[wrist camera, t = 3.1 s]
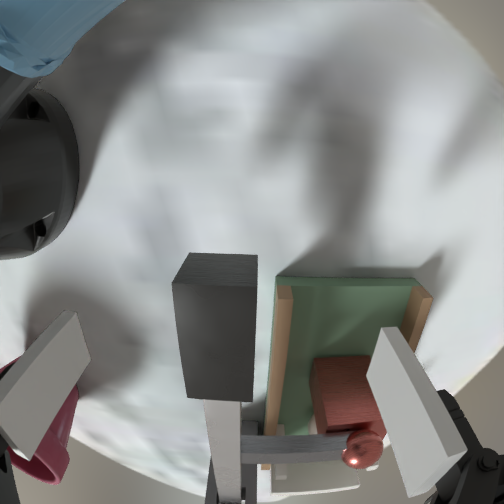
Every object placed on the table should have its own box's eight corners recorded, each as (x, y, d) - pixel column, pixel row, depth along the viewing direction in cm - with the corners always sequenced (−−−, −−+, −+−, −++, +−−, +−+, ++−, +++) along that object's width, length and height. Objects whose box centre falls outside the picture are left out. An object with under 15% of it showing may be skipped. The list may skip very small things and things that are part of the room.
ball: (308, 400, 26) (313, 432, 22) (348, 397, 26) (356, 428, 22) (302, 423, 27) (306, 453, 23) (339, 421, 27) (346, 450, 23)
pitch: (206, 273, 23) (163, 393, 11) (414, 278, 23) (496, 370, 11) (218, 445, 31) (209, 529, 20) (353, 442, 31) (371, 520, 20)
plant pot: (54, 325, 25) (-12, 406, 13) (117, 415, 30) (84, 496, 18) (-4, 337, 27) (-56, 393, 15) (50, 411, 32) (16, 471, 20)
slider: (211, 216, 19) (167, 289, 10) (399, 225, 19) (488, 291, 10) (223, 452, 29) (216, 524, 19) (332, 450, 29) (344, 520, 19)
